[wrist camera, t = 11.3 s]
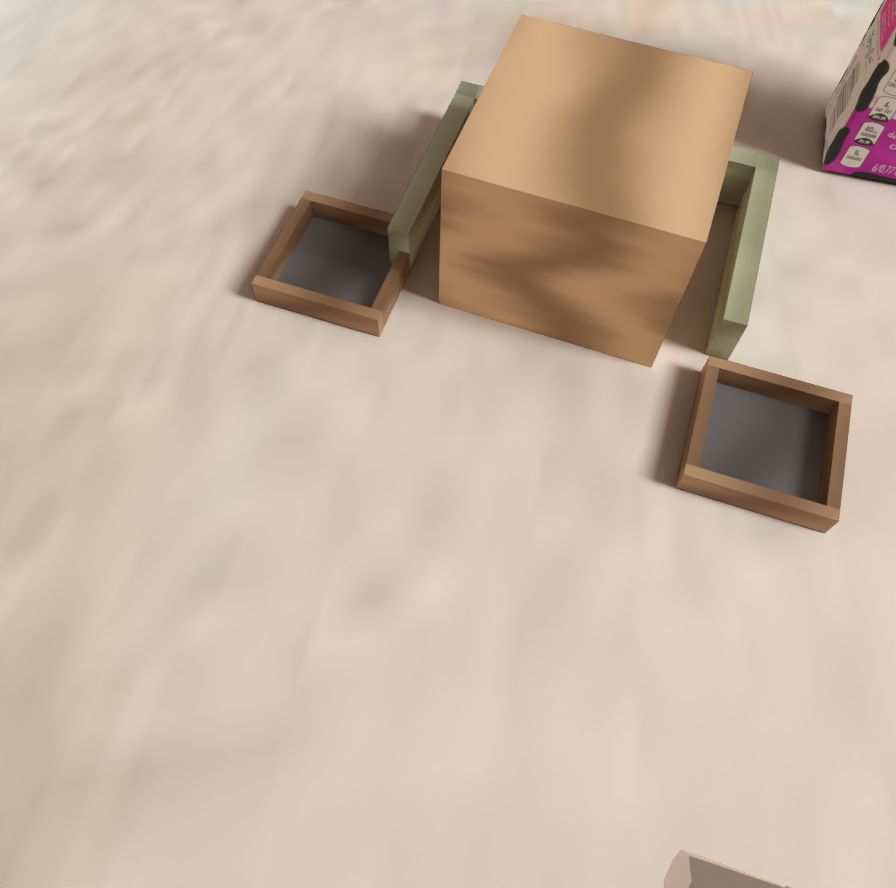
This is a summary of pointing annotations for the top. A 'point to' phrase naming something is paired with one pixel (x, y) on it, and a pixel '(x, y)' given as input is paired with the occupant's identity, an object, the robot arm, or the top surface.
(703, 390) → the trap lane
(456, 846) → the top surface
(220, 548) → the top surface
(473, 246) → the block
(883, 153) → the candy bar box
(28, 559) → the top surface
